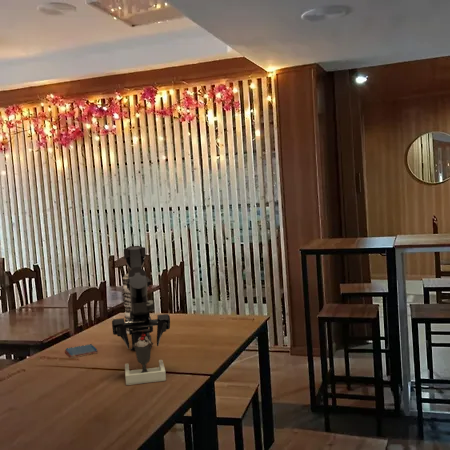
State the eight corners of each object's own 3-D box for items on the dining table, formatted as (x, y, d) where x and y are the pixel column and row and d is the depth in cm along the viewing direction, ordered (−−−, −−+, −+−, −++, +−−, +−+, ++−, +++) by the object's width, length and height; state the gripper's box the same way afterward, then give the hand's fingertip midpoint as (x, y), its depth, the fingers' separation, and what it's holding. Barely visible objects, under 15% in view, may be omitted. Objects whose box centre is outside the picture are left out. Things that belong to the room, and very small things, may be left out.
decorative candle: (150, 329, 246) (146, 271, 245) (138, 334, 238) (134, 275, 236) (133, 328, 250) (129, 271, 249) (120, 333, 242) (116, 275, 240)
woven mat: (64, 353, 218) (63, 348, 218) (91, 348, 223) (91, 343, 223) (69, 360, 209) (69, 354, 209) (98, 354, 214) (98, 349, 214)
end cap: (125, 372, 189) (124, 364, 189) (162, 368, 191) (162, 359, 191) (126, 385, 177) (125, 375, 177) (166, 380, 179) (165, 371, 179)
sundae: (145, 379, 180) (142, 332, 178) (130, 376, 184) (126, 330, 182) (159, 373, 185) (156, 327, 184) (144, 370, 189) (141, 325, 188)
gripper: (110, 294, 184) (112, 337, 174) (167, 289, 188) (173, 330, 178) (112, 313, 193) (114, 354, 183) (167, 308, 196) (172, 348, 186)
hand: (143, 347), depth 182 cm, fingers open, 9 cm apart
